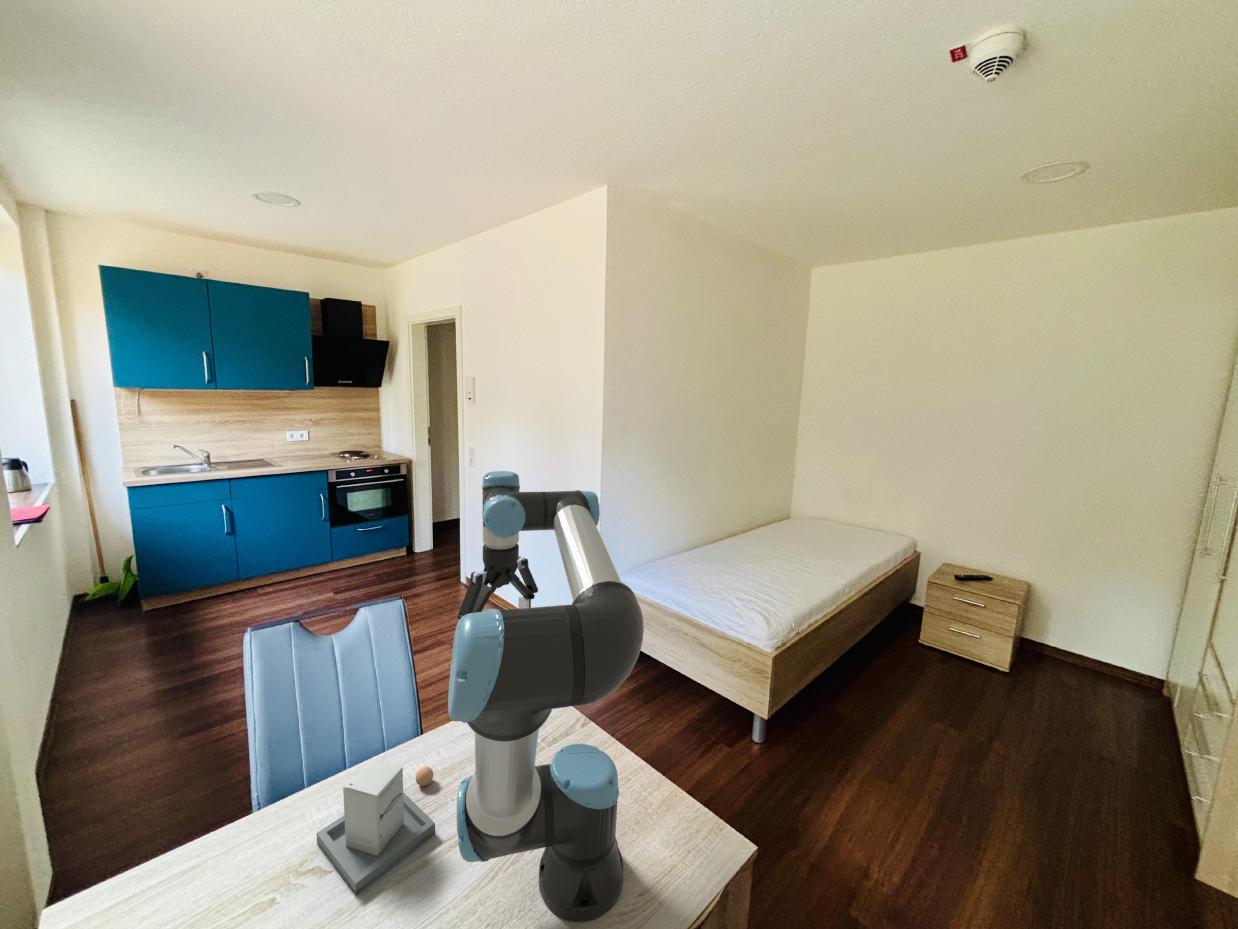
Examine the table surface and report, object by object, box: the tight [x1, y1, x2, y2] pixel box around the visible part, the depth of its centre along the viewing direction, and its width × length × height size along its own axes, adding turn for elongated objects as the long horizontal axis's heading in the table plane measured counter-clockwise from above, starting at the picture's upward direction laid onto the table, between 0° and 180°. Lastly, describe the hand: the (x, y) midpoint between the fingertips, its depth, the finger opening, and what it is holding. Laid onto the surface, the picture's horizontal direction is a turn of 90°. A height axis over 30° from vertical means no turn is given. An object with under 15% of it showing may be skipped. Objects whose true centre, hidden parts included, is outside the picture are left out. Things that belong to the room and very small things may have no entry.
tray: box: [316, 791, 436, 897], centre depth 93 cm, size 15×15×2 cm
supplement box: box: [342, 758, 404, 856], centre depth 92 cm, size 7×7×13 cm
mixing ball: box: [415, 765, 434, 787], centre depth 106 cm, size 4×4×4 cm
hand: (500, 636), depth 108 cm, fingers open, 13 cm apart
